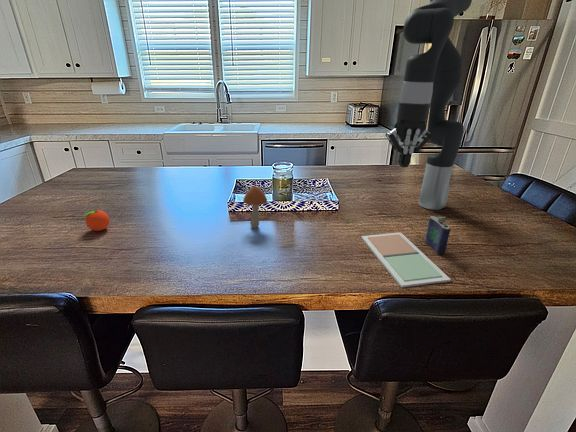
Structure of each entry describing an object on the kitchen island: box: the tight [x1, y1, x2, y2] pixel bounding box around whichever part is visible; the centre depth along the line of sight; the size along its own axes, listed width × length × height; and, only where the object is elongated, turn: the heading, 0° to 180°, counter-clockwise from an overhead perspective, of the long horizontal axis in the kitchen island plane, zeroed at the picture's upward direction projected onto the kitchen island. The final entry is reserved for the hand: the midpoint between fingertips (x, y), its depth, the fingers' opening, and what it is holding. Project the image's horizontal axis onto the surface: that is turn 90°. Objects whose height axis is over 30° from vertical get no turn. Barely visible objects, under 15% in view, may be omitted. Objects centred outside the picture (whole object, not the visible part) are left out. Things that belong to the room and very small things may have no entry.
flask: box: [423, 215, 451, 257], centre depth 96 cm, size 9×3×11 cm, turn 8°
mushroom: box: [242, 185, 268, 229], centre depth 107 cm, size 8×8×15 cm
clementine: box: [81, 209, 111, 232], centre depth 106 cm, size 8×7×7 cm
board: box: [360, 232, 451, 288], centre depth 93 cm, size 14×26×1 cm, turn 11°
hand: (403, 166), depth 88 cm, fingers closed
